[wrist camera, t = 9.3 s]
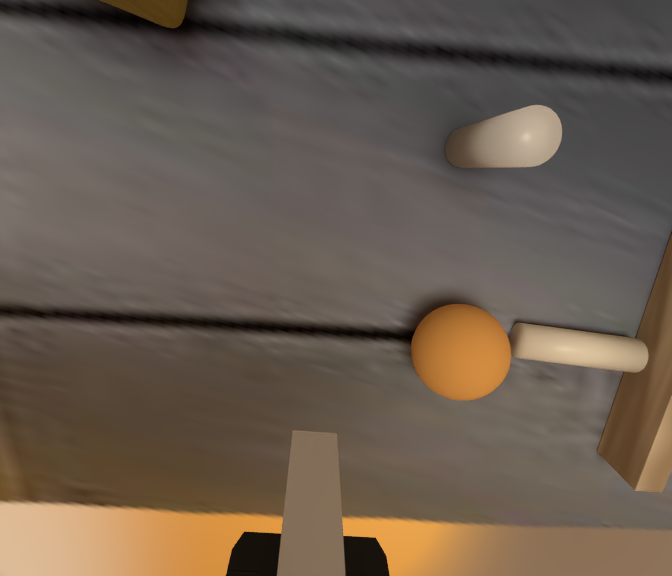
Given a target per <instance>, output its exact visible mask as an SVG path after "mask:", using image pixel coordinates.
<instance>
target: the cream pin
mask: <svg viewBox="0 0 672 576" xmlns="http://www.w3.org/2000/svg"><path fill="white" fill-rule="evenodd" d="M509 343H510V347H511V354H512V356H513V357H515V358H522V359H530V360H537V361H545V362H553V363H561V364H569V365H577V366H585V367H593V368H601V369H609V370H617V371H625V372H632V373H636V372H640V371H641V370H643V369H644V368H645V366H646V364H647V362H648V349H647V347H646V345H645V343H644V342H643V341H641V340H640V339H637V338H631V337H623V336H616V335H608V334H601V333H593V332H586V331H578V330H571V329H563V328H556V327H548V326H541V325H533V324H526V323H516V324H515V325H514V326H513V327H512V329H511V332H510V335H509Z"/></svg>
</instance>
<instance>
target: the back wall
mask: <svg viewBox="0 0 672 576" xmlns="http://www.w3.org/2000/svg"><path fill="white" fill-rule="evenodd" d="M636 338H637V339H640V340H641V341H643V342H644V343H645V345H646V347H647V349H648V362H647V364H646V366H645V368H644V369H643V370H641V371H640V372H636V373H632V372H625V371H624V374H623V377H622V380H621V383H620V386H619V388H618V391H617V394H616V397H615V400H614V403H613V406H612V409H611V412H610V415H609V418H608V421H607V424H606V426H605V429H604V432H603V435H602V438H601V441H600V444H599V447H598V450H597V452H598V453H599V454H600V455H601V456H602V457H603V458H604V459H605V460H606V461H607V462H608V463H609V464H610V465H611V466H612V467H613V468H614V469H615V470H616V471H617V472H618V473H619V475H620V476H621V477H622V478H623V479H624V480H625V481H626V482H627V483H628V484H629V485H630V486H631V487H632V488H633V489H634V490H637V491H652V492H663V489H664V487H665V484H666V482H667V480H668V477H669V475H670V472H671V470H672V234H671V237H670V239H669V242H668V245H667V248H666V251H665V254H664V257H663V260H662V263H661V266H660V269H659V272H658V275H657V277H656V280H655V283H654V286H653V289H652V292H651V295H650V298H649V301H648V304H647V307H646V310H645V313H644V315H643V318H642V321H641V324H640V327H639V330H638V333H637V336H636Z"/></svg>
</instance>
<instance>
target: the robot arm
mask: <svg viewBox="0 0 672 576" xmlns="http://www.w3.org/2000/svg"><path fill="white" fill-rule="evenodd" d="M226 576H389V570H388V564H387V558H386V555H385V553H384V551H383V550H382V548H381V546H380V545H379V543H378V541H377V539H376V538H369V537H352V536H343V526H342V509H341V493H340V476H339V459H338V443H337V433H325V432H312V431H298V430H293V432H292V441H291V450H290V460H289V469H288V478H287V487H286V496H285V506H284V515H283V524H282V533H281V534H274V533H258V532H244V533H243V534H242V536H241V537H240V539H239V540H238V541H237V543H236V544H235V546H234V547H233V549H232V552H231V556H230V561H229V565H228V569H227V574H226Z"/></svg>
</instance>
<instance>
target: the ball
mask: <svg viewBox="0 0 672 576" xmlns="http://www.w3.org/2000/svg"><path fill="white" fill-rule="evenodd" d="M411 356H412V361H413V365H414V368H415V370H416V372H417V374H418V375H419V377H420V379H421V380H422V381H423V382H424V383H425V385H427V386H428V387H429V388H430V389H431V390H433V391H434V392H436V393H437V394H439V395H441V396H443V397H446V398H449V399H453V400H464V401H465V400H473V399H477V398H481V397H483V396H485V395H487V394H489V393H490V392H492V391H493V390H495V389H496V388H497V387H498V386H499V385H500V384H501V382H502V381H503V380H504V378H505V376H506V374H507V372H508V370H509V367H510V361H511V347H510V343H509V339H508V336H507V334H506V332H505V330H504V329H503V327H502V326H501V324H500V323H499V322H498V321H497V320H496V319H495V318H494V317H493V316H492V315H491V314H489V313H488V312H486V311H485V310H482V309H480V308H478V307H475V306H472V305H467V304H450V305H446V306H442V307H440V308H437V309H436V310H434V311H432V312H430V313H429V314H428V315H427V316H426V317H424V318H423V320H422V321H421V322H420V323H419V325H418V327H417V328H416V330H415V333H414V335H413V338H412V343H411Z"/></svg>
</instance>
